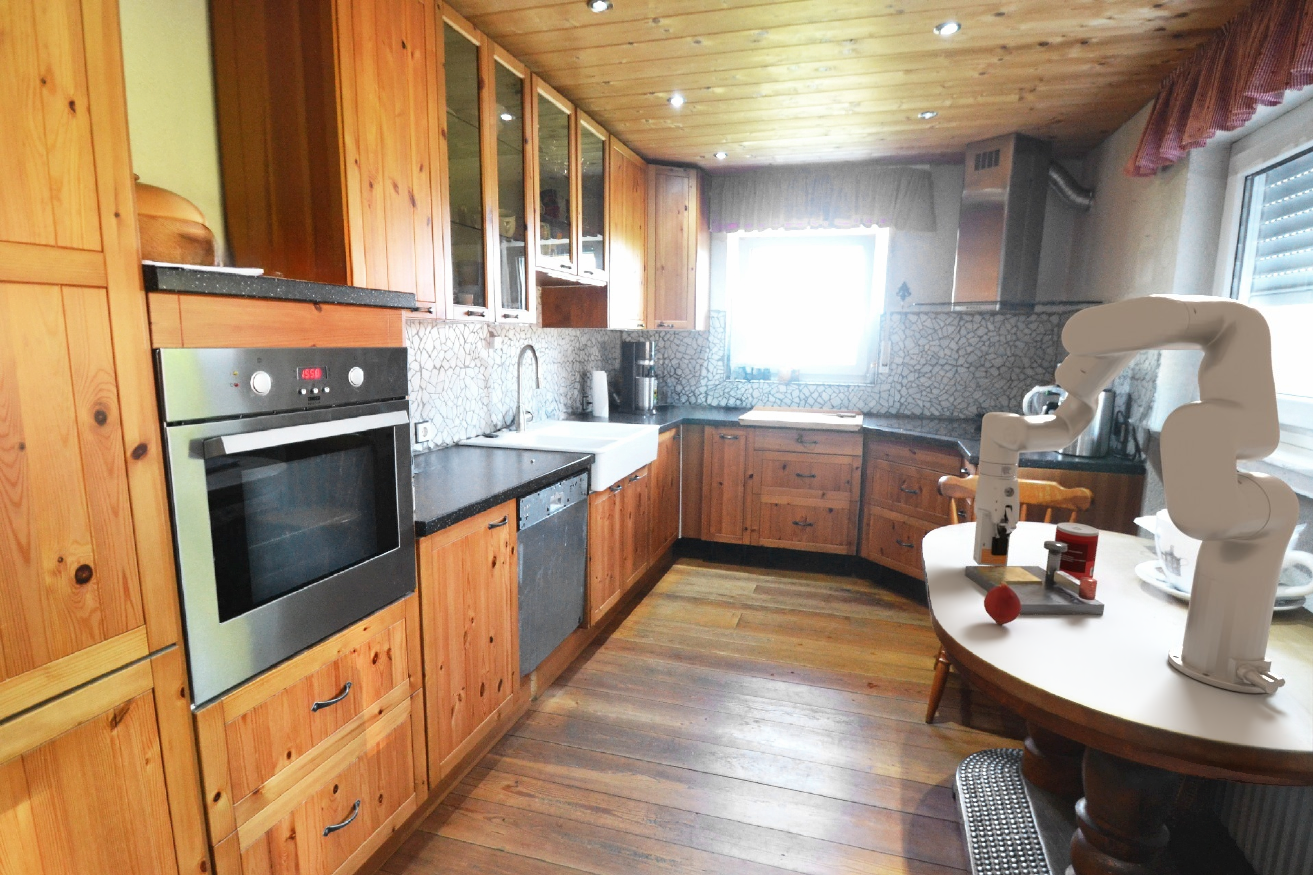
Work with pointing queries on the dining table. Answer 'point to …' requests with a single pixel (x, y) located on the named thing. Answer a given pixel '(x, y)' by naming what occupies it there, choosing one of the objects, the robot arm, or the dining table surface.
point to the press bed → (1037, 586)
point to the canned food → (1077, 549)
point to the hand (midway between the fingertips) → (991, 550)
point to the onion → (1002, 604)
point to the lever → (1077, 585)
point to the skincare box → (986, 541)
